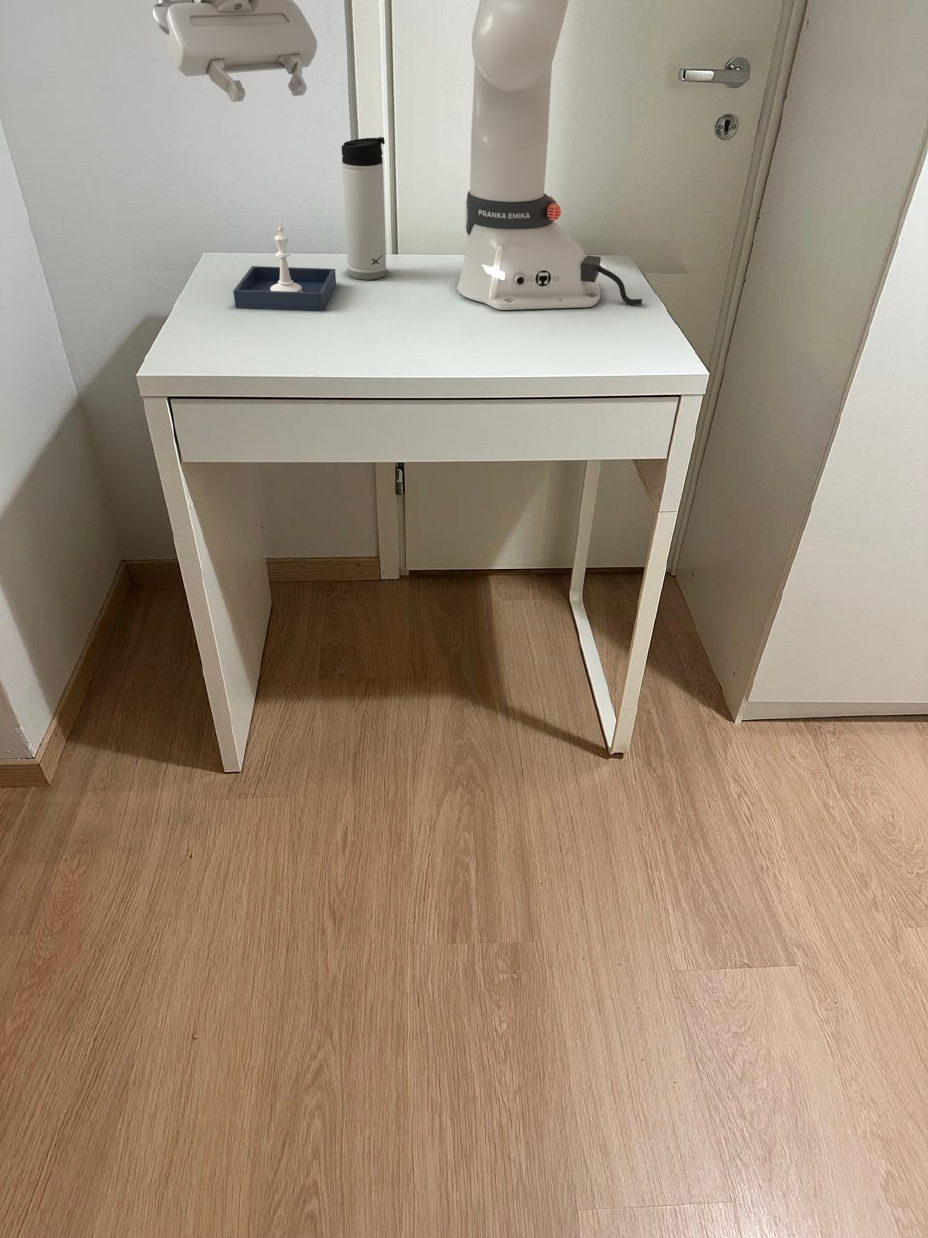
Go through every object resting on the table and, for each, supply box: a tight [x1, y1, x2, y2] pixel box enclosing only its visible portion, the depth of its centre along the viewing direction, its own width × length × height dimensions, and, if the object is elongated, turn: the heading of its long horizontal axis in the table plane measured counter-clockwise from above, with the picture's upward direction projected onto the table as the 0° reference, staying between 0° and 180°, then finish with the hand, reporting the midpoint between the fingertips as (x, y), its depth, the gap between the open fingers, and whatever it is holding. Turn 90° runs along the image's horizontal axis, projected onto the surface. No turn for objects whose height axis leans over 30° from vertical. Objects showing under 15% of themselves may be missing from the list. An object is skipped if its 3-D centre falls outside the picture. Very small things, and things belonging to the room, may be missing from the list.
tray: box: [232, 265, 337, 312], centre depth 134 cm, size 13×12×2 cm
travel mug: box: [340, 136, 387, 281], centre depth 138 cm, size 6×7×20 cm
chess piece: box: [270, 222, 303, 292], centre depth 132 cm, size 5×5×10 cm
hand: (270, 95), depth 115 cm, fingers open, 8 cm apart
